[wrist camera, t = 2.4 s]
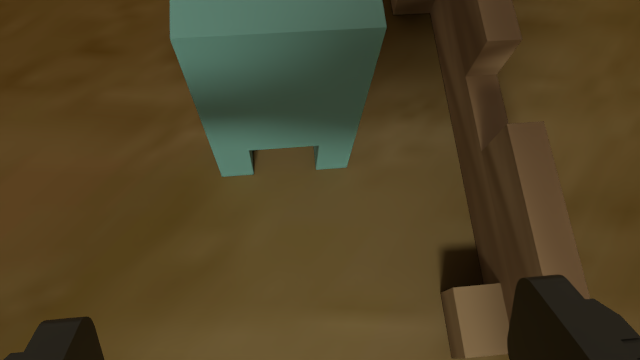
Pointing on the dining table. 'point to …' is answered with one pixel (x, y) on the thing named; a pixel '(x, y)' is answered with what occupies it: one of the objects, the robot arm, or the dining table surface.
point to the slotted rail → (496, 174)
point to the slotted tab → (278, 73)
